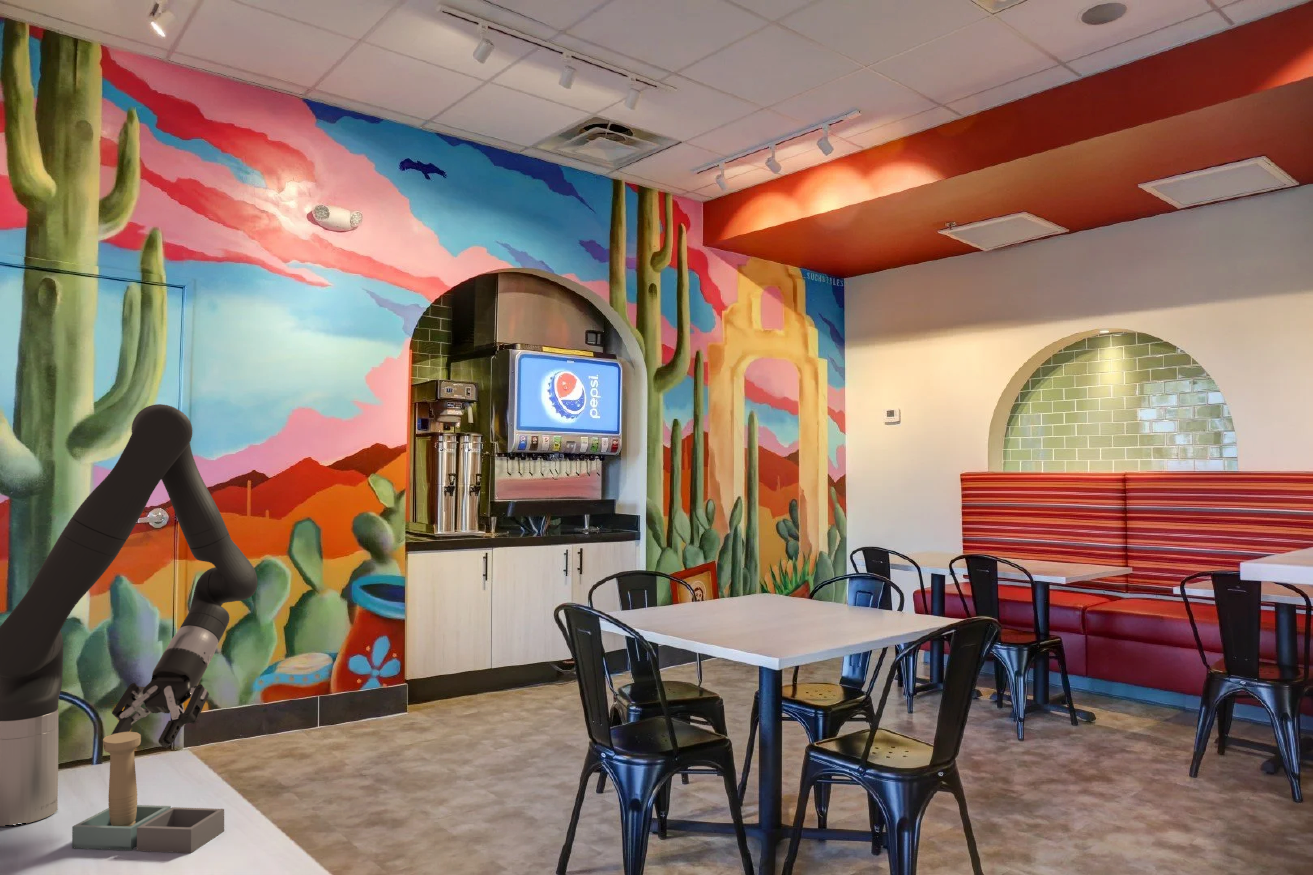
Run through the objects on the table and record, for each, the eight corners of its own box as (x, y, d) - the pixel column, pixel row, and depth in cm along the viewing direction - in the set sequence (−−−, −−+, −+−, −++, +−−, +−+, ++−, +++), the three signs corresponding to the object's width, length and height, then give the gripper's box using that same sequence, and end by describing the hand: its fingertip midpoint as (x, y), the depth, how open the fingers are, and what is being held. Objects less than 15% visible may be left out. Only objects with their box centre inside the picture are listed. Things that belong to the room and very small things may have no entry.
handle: (112, 843, 133) (110, 745, 134) (99, 832, 138) (98, 737, 138) (147, 832, 137) (145, 737, 137) (133, 822, 141) (132, 729, 142)
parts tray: (72, 848, 133) (72, 826, 133) (115, 824, 142) (115, 804, 142) (130, 850, 132) (130, 828, 132) (170, 826, 141) (170, 806, 141)
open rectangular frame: (136, 850, 132) (136, 827, 132) (172, 829, 140) (172, 807, 140) (191, 853, 131) (191, 829, 131) (224, 831, 139) (224, 808, 139)
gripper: (139, 645, 151) (87, 731, 140) (214, 646, 149) (167, 733, 138) (160, 669, 156) (111, 754, 145) (233, 670, 154) (189, 756, 143)
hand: (139, 744), depth 141 cm, fingers open, 8 cm apart
